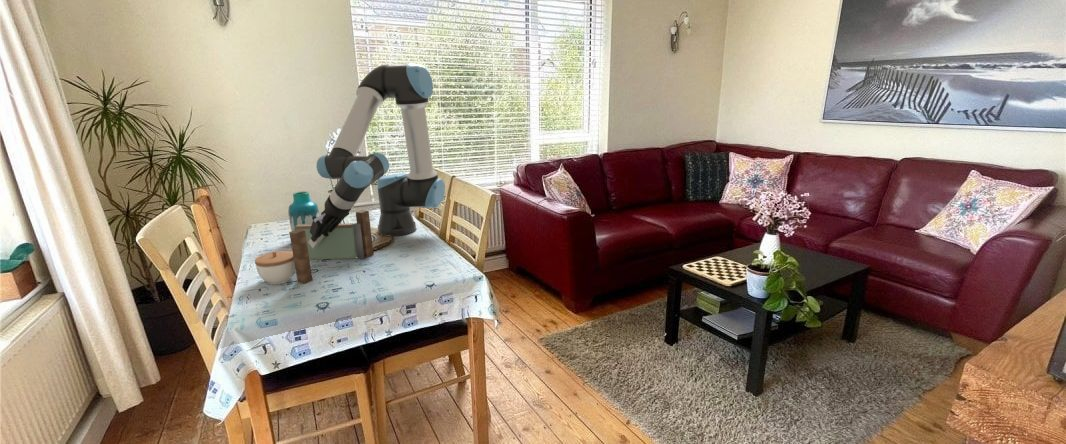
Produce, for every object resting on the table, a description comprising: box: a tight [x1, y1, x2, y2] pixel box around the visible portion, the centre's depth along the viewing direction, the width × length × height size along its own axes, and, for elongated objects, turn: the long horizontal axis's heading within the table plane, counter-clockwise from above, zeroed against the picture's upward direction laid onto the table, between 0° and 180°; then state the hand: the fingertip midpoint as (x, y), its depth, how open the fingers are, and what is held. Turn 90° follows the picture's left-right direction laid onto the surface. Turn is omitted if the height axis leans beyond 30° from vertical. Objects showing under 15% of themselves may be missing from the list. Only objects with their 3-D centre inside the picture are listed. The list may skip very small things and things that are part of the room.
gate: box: [295, 222, 365, 260], centre depth 157 cm, size 21×2×12 cm, turn 93°
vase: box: [288, 190, 321, 232], centre depth 175 cm, size 11×11×19 cm
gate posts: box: [288, 209, 375, 285], centre depth 149 cm, size 28×3×16 cm, turn 153°
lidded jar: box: [254, 250, 296, 286], centre depth 140 cm, size 11×11×9 cm
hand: (312, 244), depth 155 cm, fingers closed
